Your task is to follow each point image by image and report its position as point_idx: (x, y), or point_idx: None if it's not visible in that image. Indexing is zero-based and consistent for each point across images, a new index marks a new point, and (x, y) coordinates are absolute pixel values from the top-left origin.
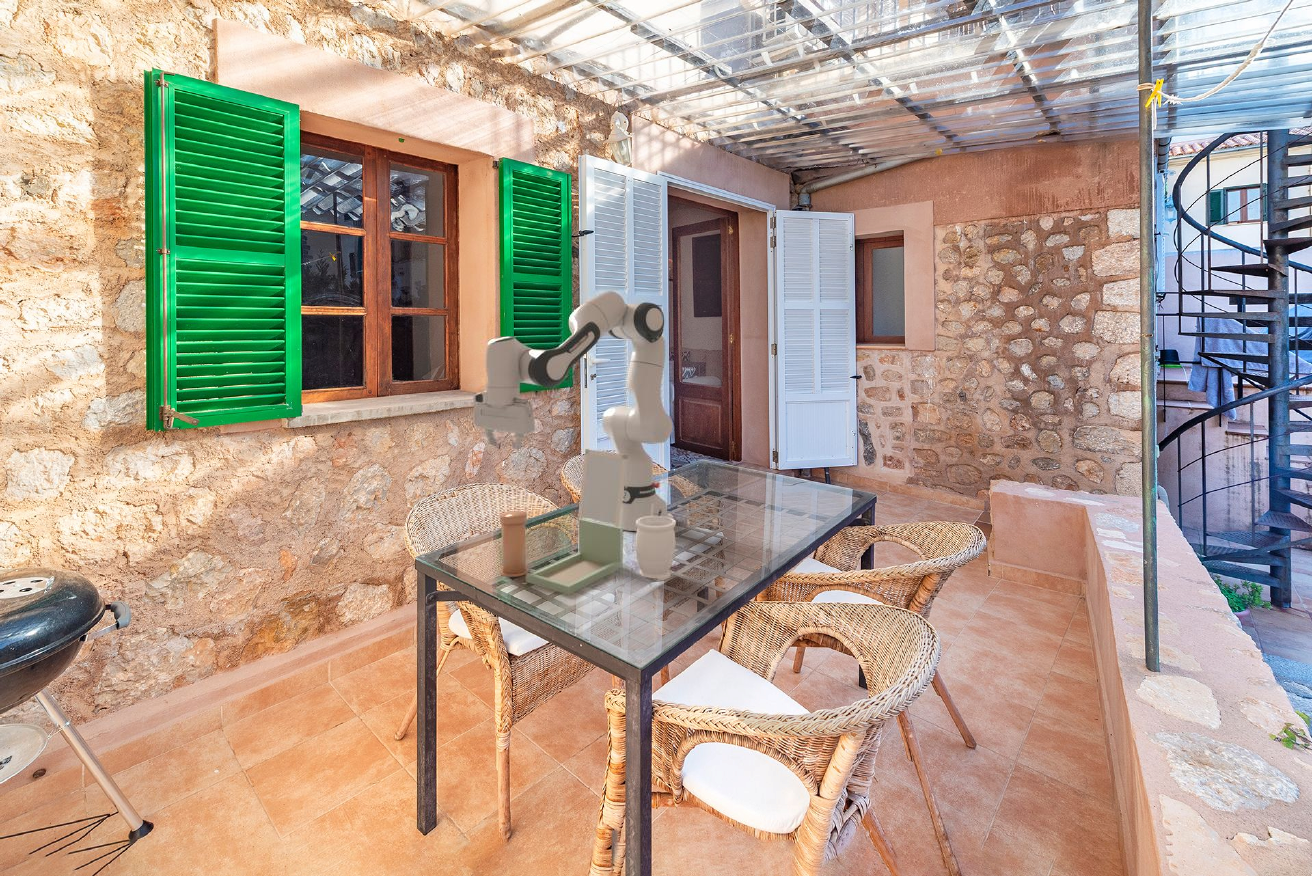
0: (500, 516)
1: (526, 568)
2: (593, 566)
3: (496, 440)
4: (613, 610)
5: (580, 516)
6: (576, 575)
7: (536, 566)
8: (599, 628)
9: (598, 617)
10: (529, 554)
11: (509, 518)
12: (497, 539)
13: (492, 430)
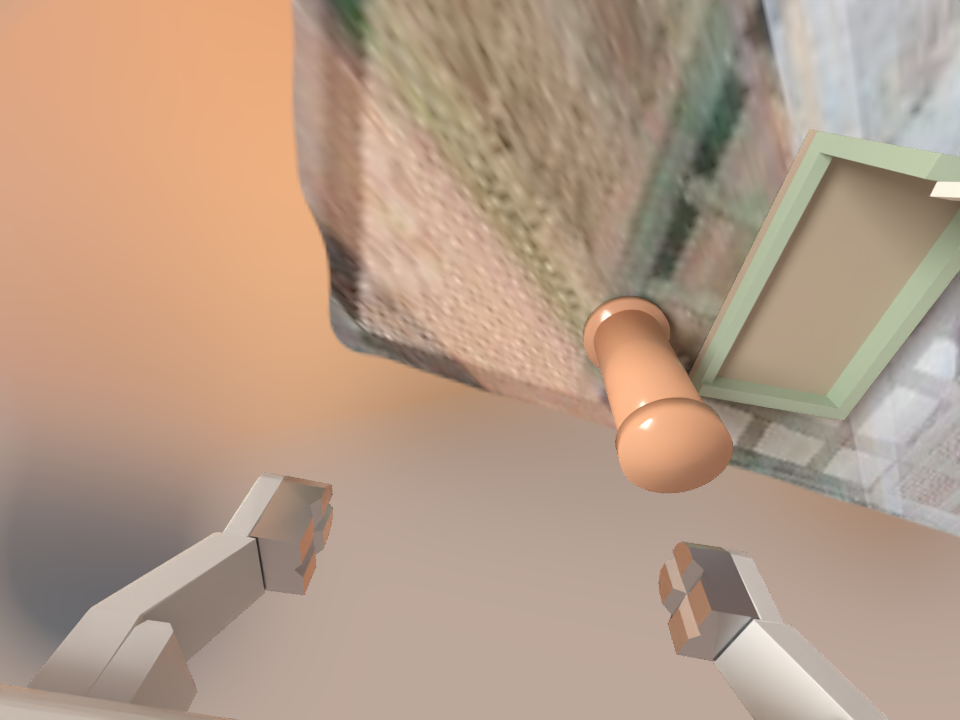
0: (636, 484)
1: (656, 317)
2: (881, 209)
3: (309, 521)
4: (953, 413)
5: (955, 200)
6: (829, 299)
7: (660, 257)
8: (919, 480)
9: (914, 448)
10: (587, 169)
11: (682, 491)
12: (371, 69)
13: (160, 675)
